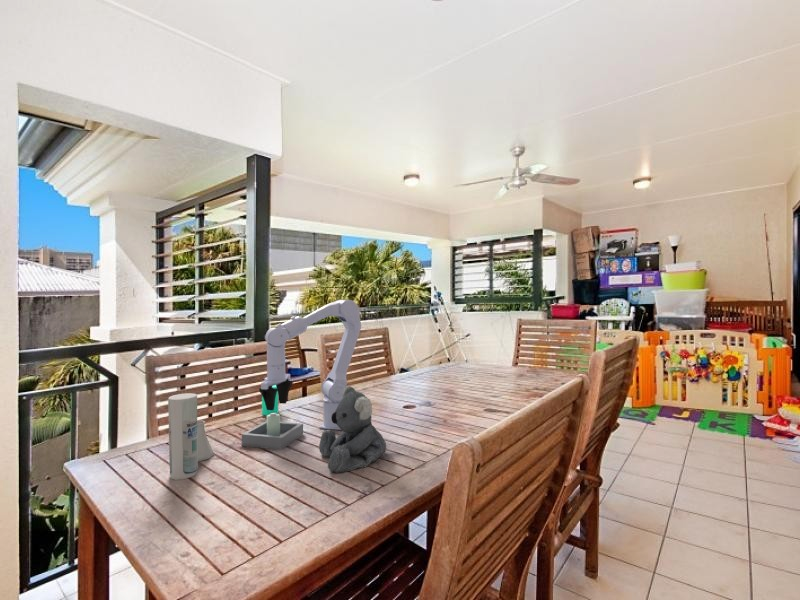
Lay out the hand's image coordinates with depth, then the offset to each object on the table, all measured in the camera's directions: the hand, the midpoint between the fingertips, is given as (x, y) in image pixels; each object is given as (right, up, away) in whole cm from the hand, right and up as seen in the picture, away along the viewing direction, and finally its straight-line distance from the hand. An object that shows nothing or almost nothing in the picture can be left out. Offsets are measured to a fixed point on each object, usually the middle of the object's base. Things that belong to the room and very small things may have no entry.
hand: (276, 406), depth 131 cm
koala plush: (+28, -10, -18) cm, 35 cm away
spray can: (-15, -10, -28) cm, 33 cm away
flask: (-17, -10, -17) cm, 26 cm away
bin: (0, -9, -4) cm, 10 cm away
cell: (0, -9, -4) cm, 10 cm away
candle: (-10, -9, +24) cm, 28 cm away
